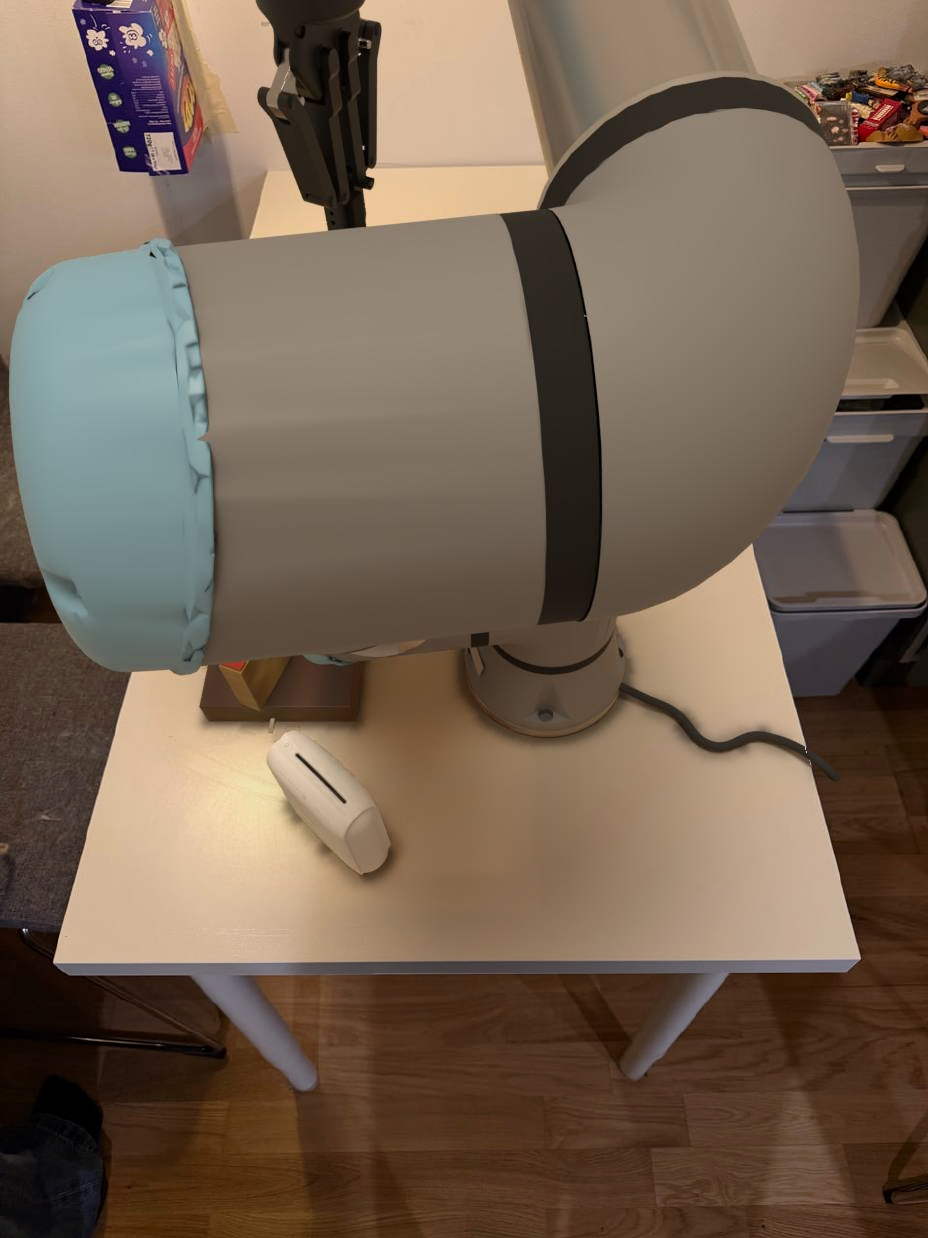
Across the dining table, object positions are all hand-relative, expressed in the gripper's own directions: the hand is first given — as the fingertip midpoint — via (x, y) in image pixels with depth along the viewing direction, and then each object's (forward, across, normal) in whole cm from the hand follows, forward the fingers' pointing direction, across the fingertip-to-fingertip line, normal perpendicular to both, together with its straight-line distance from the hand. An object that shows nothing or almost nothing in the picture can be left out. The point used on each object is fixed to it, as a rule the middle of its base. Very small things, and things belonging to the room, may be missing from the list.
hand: (354, 264), depth 73 cm
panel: (+26, +26, +4) cm, 37 cm away
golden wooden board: (+23, +26, +4) cm, 35 cm away
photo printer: (+27, +38, +17) cm, 49 cm away
